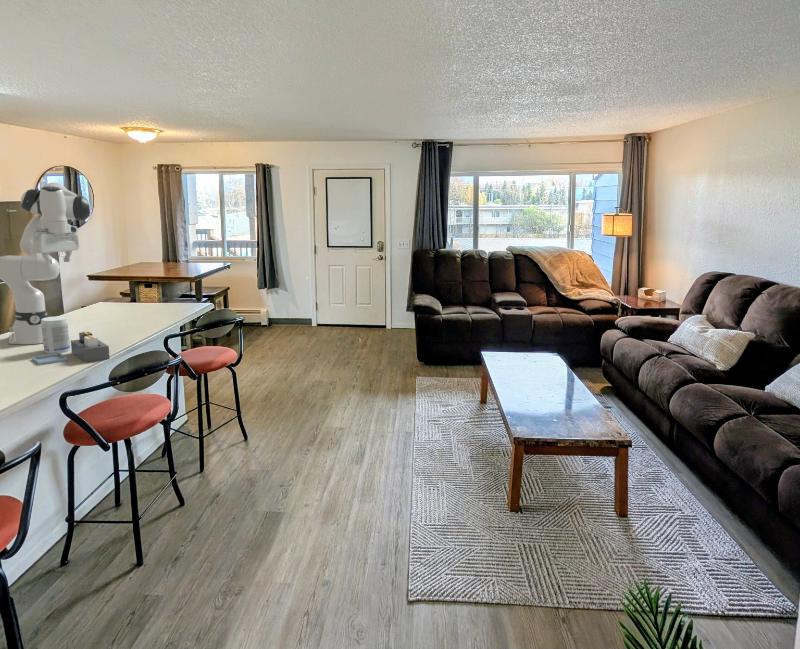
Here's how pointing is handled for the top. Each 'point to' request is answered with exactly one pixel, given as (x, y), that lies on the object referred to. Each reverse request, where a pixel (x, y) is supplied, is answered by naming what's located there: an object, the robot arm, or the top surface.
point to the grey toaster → (89, 349)
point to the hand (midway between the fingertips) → (58, 263)
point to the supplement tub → (55, 334)
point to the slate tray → (49, 359)
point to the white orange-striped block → (91, 341)
